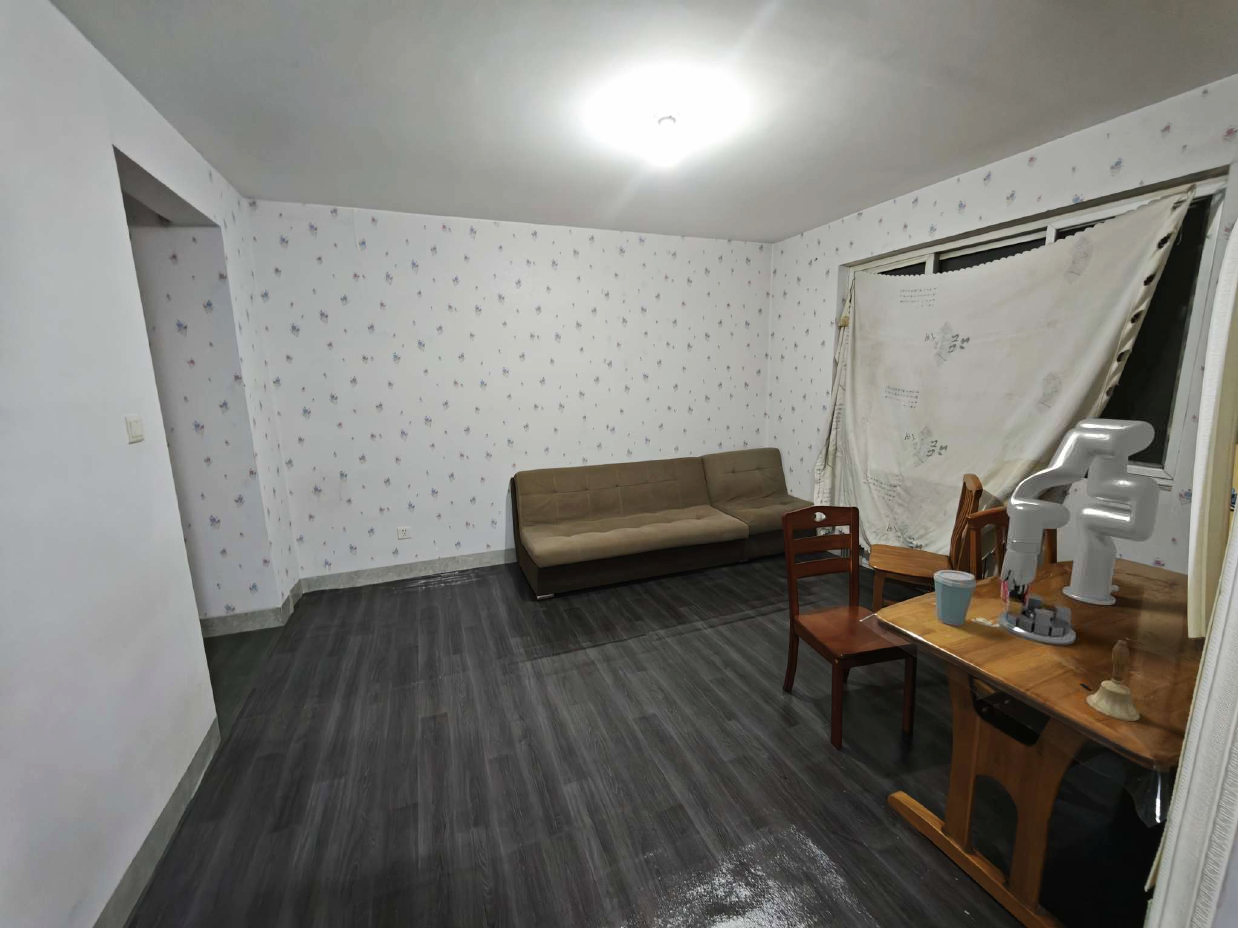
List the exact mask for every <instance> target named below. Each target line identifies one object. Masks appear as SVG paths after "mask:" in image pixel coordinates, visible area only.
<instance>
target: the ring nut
mask: <svg viewBox="0 0 1238 928" xmlns="http://www.w3.org/2000/svg"><path fill="white" fill-rule="evenodd" d="M1042 605H1043V599H1042V598H1041V596H1038V595H1032V594H1029V595H1027V599H1026V604H1024V605H1023V606H1022V601H1021V600H1020V599H1015V598H1009V597H1008V599H1007V602H1006V607H1005V609H1004V612H1005V615H1004V616H1005V619H1006V620H1007V622H1009V623H1011V624H1012V625H1014V626H1018V628H1020V629H1023V630H1026V631H1029V632H1032V631H1033V632H1034V633H1036V634H1041V635H1046V636H1048V635H1050V636H1065V635H1067V634H1069V631H1070V628H1071V618H1072V617H1071V616H1072V610H1071V609H1070V608H1069V607H1067V606H1059V605H1054V607H1053V611H1051V610H1048V609H1045V608H1042ZM1027 610H1034V615H1033V619H1031V618H1028V617H1026V613H1027Z"/></svg>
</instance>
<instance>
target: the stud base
mask: <svg viewBox="0 0 1238 928" xmlns="http://www.w3.org/2000/svg"><path fill="white" fill-rule="evenodd" d="M1004 615H1005V611H1004V612H1000V613H999V614H998V617H997V624H998V625H999V626H1000V627H1001V628H1002V629H1004V630H1005V631H1007V632H1009V634H1010V633H1011V634H1013V635H1015V636H1017V637H1020V638H1022V639H1025V640H1027V641H1030V642H1031V641H1032V642H1034V643H1039V644H1045V645H1052V646H1068V645H1069V646H1070V645H1072V644H1073V643H1075V641H1076V636H1077V635H1076V632H1075V631H1074V630H1073V628H1071V627H1070V631H1069V634H1067V635H1065V636H1050V635H1048V636H1046V635H1041V634H1036V633H1034V632H1033V631H1032V632H1029V631H1026V630H1023V629H1020V628H1018V626H1014V625H1012V624H1011V623H1009V622H1007V620H1006V619H1005V616H1004ZM1033 615H1034V610H1027V613H1026V617H1028V618H1031V619H1033Z"/></svg>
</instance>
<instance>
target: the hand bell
mask: <svg viewBox="0 0 1238 928" xmlns="http://www.w3.org/2000/svg"><path fill="white" fill-rule="evenodd" d="M1129 659H1130V650H1129V647H1128V642H1127V641H1125V640H1122V639H1119V640H1117V643H1116V644H1115V645H1114V647H1113V648H1112V650H1111V661H1112V664H1113V668H1112V673H1111V680H1104V681H1102V682H1101V683H1100V686H1099V688H1098V690H1097V691H1096V692H1095V693H1094V694H1090V695H1088V696H1087V697H1086V699H1085V700H1086V704H1088V705H1089V706H1090V707H1091V708H1092V709H1093V710H1095V711H1096V712H1098V713H1100V714H1103V715H1105V716H1107V717H1110V718H1113V719H1116V720H1120V721H1124V722H1136V721H1138V720H1140V718H1141V716H1140V714H1139V712H1138V710H1137V709H1136V708H1135V707H1134V706H1133V704H1132V703H1133V702H1132V698H1131V689H1130V688H1129V687H1128V686H1126V685H1124V684H1123V683H1124V682H1123V680H1124V671H1125V668H1126V666H1127V665H1128V663H1129Z"/></svg>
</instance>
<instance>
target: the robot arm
mask: <svg viewBox="0 0 1238 928" xmlns="http://www.w3.org/2000/svg"><path fill="white" fill-rule="evenodd" d="M1154 438H1155V428H1154V427H1153V425H1152V424H1151V423H1149V422H1147V421H1142V420H1129V419H1127V420H1126V419H1125V420H1124V419H1112V418H1111V419H1110V418H1086V419H1082V420H1080V421H1078V422H1077V423H1076V425H1075V427H1074V428H1071V429H1069V430H1068V431H1067V432H1066V433H1065V434H1064V437H1063V438H1062V441H1061V442H1060V444H1059V446H1058V448H1057V449H1056V451H1055V453H1054V455H1053V456H1052V458H1051V460H1050V462H1049V464H1048V465H1047V466H1046V467H1045V468H1043V469H1042V470H1039V471H1037V472H1035V473H1033V474H1032V475H1029V476H1028V477H1027V478H1025V479H1023V480H1022V481H1021V482H1020V483H1019V484H1018V485H1017V486H1016V487H1015V489H1014V491H1013V493H1012V494H1011V496H1010V498H1009V500H1008V503H1007V506H1006V514H1007V516H1008V517H1009V523H1008V524H1009V525H1008V533H1007V540H1006V547H1005V548H1006V552H1005V555H1004V558H1003V563H1002V567H1001V574H1000V581H1001V582H1002V581H1003V582H1005V581H1007V580H1008V583H1007V588H1008V589H1009V591H1010V592H1009V598H1015V599H1020V600H1021V601H1022V606H1023V605H1024V606H1025V604H1024V598H1025V592H1026V589H1027V584H1028V583H1029V582H1031V583H1032V582H1034V580H1035V579H1036V574H1037V567H1038V555H1040V552H1041V546H1042V538H1043V531H1044V530H1045V529H1048V530H1049V529H1051V530H1056V529H1060V528H1063V527H1065V526H1066V525H1067V524H1068V523H1069V521H1070V520H1071V519H1070V518H1071V512H1070V510H1069V508H1067V506H1066V505H1063V504H1061V503H1057V502H1052V501H1046V500H1042V499H1035V498H1033V496H1034V495H1035V494H1036V493H1037V492H1040V491H1042V490H1045V489H1049V488H1052V487H1057V486H1063V485H1070V484H1074V483H1078V482H1080V481H1082V480H1083V479H1084V478H1085V476H1086V474H1087V481H1086V493H1087V495H1088V496H1089V498H1091V499H1094V500H1097V501H1103V502H1107V503H1113V504H1118V505H1119V504H1120V505H1126V506H1129V507H1130V508H1125V507H1119V506H1115V505H1109V504H1104V503H1103V504H1102V503H1086V504H1083V505H1082V506H1080V507H1079V508H1078V509H1077V512H1076V515H1075V517H1076V519H1075V520H1076V530H1077V531H1076V532H1077V533H1076V543H1075V551H1074V556H1073V563H1072V570H1071V576H1070V577H1071V578H1070V584H1069V586H1065V587H1063V588H1062V592H1063V594H1064V595H1066V596H1067V597H1069V598H1071V599H1074V600H1076V601H1080V602H1084V603H1087V604H1092V605H1100V606H1112V605H1114V604H1116V603H1117V602H1116V598H1115V597H1114V596H1113V595H1111V593H1112V592H1118V591H1119V590H1120V588H1119V586H1118V585H1117V584H1112V582H1113V575H1114V570H1115V564H1116V559H1117V558H1116V557H1117V554H1118V549H1117V546H1116V543H1115V541H1114V540H1113V538H1116V539H1117V538H1118V539H1122V540H1126V541H1127V540H1128V541H1132V542H1145V541H1148V540H1149V539H1150V538H1151V537H1152V535H1153V533H1154V530H1155V526H1156V525H1155V524H1156V520H1157V519H1156V518H1157V511H1158V507H1159V499H1160V486H1159V483H1158V482H1157V481H1156V479H1154V478H1152V477H1150V476H1147V475H1140V474H1139V475H1138V474H1130V473H1128V463H1129V457H1130V456H1132V455H1134V454H1136V453H1139V452H1141V451H1144V450H1145V449H1147V448H1148V447H1149V446H1150V445H1151V444H1152V442H1153V440H1154ZM1112 537H1113V538H1112Z"/></svg>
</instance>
